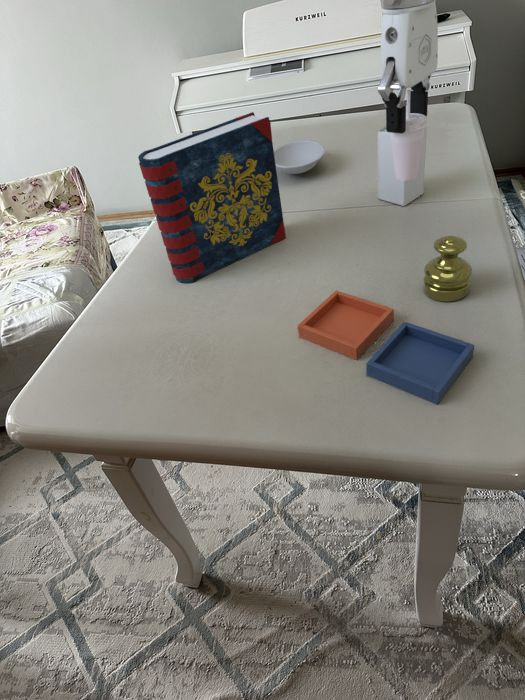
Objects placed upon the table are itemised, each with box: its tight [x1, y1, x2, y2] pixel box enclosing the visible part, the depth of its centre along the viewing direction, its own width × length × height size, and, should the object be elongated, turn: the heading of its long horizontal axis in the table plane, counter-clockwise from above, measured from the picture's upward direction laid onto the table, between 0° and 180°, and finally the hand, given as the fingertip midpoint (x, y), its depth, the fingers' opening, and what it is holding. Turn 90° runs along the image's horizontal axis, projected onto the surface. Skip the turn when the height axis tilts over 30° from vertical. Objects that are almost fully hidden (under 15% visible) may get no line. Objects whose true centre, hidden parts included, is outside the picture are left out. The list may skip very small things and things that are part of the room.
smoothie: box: [390, 89, 428, 181], centre depth 87 cm, size 6×6×14 cm
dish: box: [273, 139, 326, 175], centre depth 134 cm, size 18×14×5 cm
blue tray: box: [365, 321, 475, 405], centre depth 75 cm, size 11×11×2 cm
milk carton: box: [377, 105, 428, 207], centre depth 110 cm, size 7×7×19 cm
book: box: [137, 111, 287, 284], centre depth 100 cm, size 25×7×25 cm, turn 123°
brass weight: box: [423, 235, 473, 303], centre depth 85 cm, size 7×7×10 cm
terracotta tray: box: [297, 289, 395, 361], centre depth 84 cm, size 11×11×2 cm
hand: (407, 123), depth 86 cm, fingers closed on smoothie, 6 cm apart
